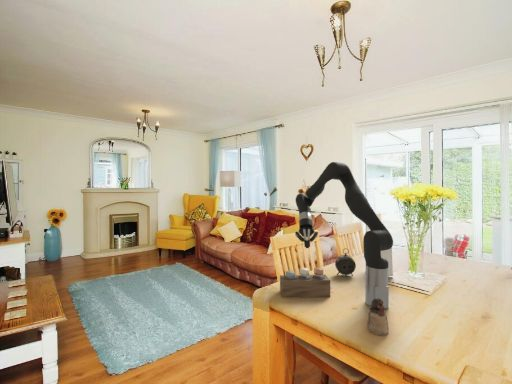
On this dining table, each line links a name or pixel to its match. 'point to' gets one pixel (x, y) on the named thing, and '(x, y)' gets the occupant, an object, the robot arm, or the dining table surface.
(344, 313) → the dining table surface
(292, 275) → the slate button
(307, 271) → the cream button
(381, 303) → the figurine
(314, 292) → the button console
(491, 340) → the dining table surface
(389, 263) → the milk
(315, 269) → the terracotta button
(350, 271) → the alarm clock
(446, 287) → the dining table surface
